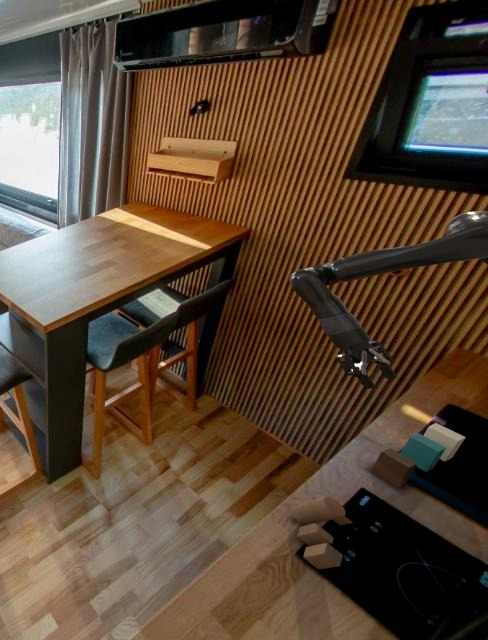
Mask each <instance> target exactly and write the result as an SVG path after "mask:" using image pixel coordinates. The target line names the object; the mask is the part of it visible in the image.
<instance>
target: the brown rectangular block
mask: <svg viewBox="0 0 488 640" xmlns="http://www.w3.org/2000/svg"><path fill="white" fill-rule="evenodd" d="M400 453H401V452H398V451H396V450H394V449H393V448H391V447H387V448H385V449H383V450H381V452H380V453H379V455H378V457H377V459H376V461H374V464H373V466H372V468H371V470H370V472H371V473H373V474H375V475H376V476H378V477H379V478H381V479H382V480H384V481H386V482H388V483H389V484H390V485H392V486H394V487H395V488H397V489H398V488H400V487H402V486H404V485H405V484H406V483H407V482H408V480H409V478H410V477H411V475H412V473H413V472H414V470H415V468H417V467H416V465H417V463H416V462H414V461H412V460H410V459H409V458H407V457H405V456H403V455H402V454H400Z"/></svg>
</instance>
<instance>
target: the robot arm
mask: <svg viewBox="0 0 488 640" xmlns="http://www.w3.org/2000/svg"><path fill="white" fill-rule="evenodd" d="M472 260H480V261H482V262H483V263H484V264H485V265H486V266H488V211H468V212H464V213H461V214H459V215H457V216H455V217H453V218H451V219H450V220H449V222H448V223H447V224H446V225H445V229H444V236H442V237H439V238H437V239H433V240H430V241H426V242H423V243H417V244H413V245H407V246H399V247H390V248H389V247H388V248H379V249H378V248H377V249H372V250H366V251H363V252H359V253H355V254H352V255H348V256H345V257H341V258H338V259H335V260H332V261H330V262H325V263H321V264H316V265H312V266H308V267H304V268H301V269H298V270H295V271H294V272H292V273H291V275H290V276H289V285H290V287H291V288H292V289H293V291H294V292H295V293H296V295H297V296H298V297H300V299H301V300H302V301H303V302H304V303H305V304H306V305H307V306H308V308H309V309H310V310H311V313H312V314H313V316H314V317H315V318H316V319H317V320H318V322H319V325H320V326H321V328H322V330H323V331H324V332H325V334H326V336H327V338H329V340H330V341H331V342H332V344H333V345H334V347H335V348H337V349H341V350H342V352H343V353H341V354H336V355H335V359H336V360H337V362H338V364H339V365H340V366H341V368H342V370H343V371H344V373H345V374H346V376H348V377H352V376H353V377H355V378H357V380H358V382H359V383H360V385H362V387H364V389H365V390H372V389H375V388H377V386H376V385H375V383H374V382H373V380H372V379H371V377H370V376H369V374H367V367H368V364H369V363H373V364H374V365H377V369H379V370H380V372H381V373H382V375H383V376H384V378H385V379H387V380H394V379H397V378H398V375H397V373H396V372H395V370H393V368H392V367H391V365H390V364H391V362H390V361H393V360H394V358H393V357H392V355H391V353H389V351H388V350H387V349H386V348H385V347H384V345H383V344H382V343H381V342H380V340H372V341H371V337H370V335H369V334H368V333H367V332H366V330H365V329H364V327H363V326H362V324H361V323H360V322H359V320H358V319H357V318H356V317H355V316H354V314H352V313H351V311H350V310H349V309H348V308H347V306H346V305H345V303H344V302H343V301H342V300H341V299H340V297H339V296H338V295H336V294H334V293H333V292H332V291H331V290H330V288H328V286H332V285H336V284H340V283H349V282H355V281H359V280H363V279H367V278H371V277H376V276H379V275H384V274H389V273H393V272H394V273H395V272H398V271H403V270H411V269H416V268H422V267H428V266H435V265H442V264H449V263H456V262H465V261H472Z"/></svg>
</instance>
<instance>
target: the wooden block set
mask: <svg viewBox="0 0 488 640" xmlns="http://www.w3.org/2000/svg"><path fill="white" fill-rule="evenodd" d="M291 513H292V515H293V517H294V518H295V519H296V520H297V521H298V522H299V523H301V524H302V526H300V527H299V530H298V532H297V537H298V539H300V540H301V541H302V542H303V543H305V544H306V545H307V546H306V547H305V550H304V553H303V559H304V560H305V561H307V562H308V563H309V564H310V565H311V566H313V567H314V568H315V569H317V570H323V569H331V568H335V567H336V568H337V567H341V565H342V561H343V554H342V553H341V552H339V551H338V550H337V549H336V548H334V546H332V544H333V542H334V537H333V535H331V534H330V533H329V532H328V531H327V530H325V529H324V528H323V527H321V526H320V525H319V524H320V523H323V522H328V521H334V522H335V523H337V525H339V526H345V525H350V524H353V521H351V520H350V519H349V518H348V517H346V510H345V508H344V507H343V505H342V504H341V503H340V502H339V501H338V500H336V499H335V498H334V497H331V496H322V497H319V498H316V499H313V500H310V501H307V502H303V503H301V504H297V505H294V506H292V507H291Z"/></svg>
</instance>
